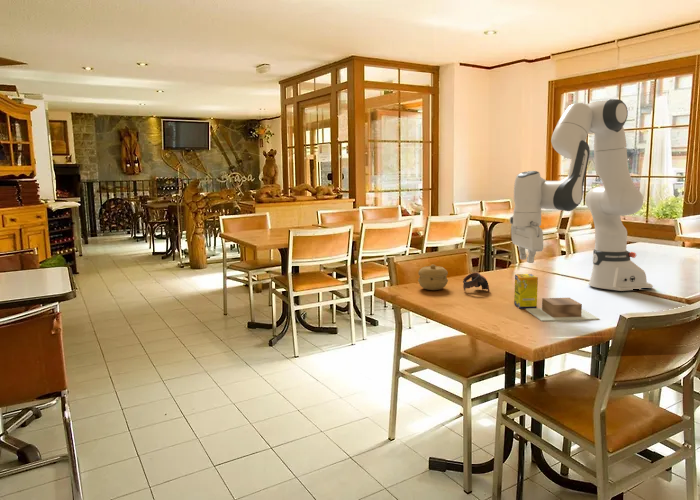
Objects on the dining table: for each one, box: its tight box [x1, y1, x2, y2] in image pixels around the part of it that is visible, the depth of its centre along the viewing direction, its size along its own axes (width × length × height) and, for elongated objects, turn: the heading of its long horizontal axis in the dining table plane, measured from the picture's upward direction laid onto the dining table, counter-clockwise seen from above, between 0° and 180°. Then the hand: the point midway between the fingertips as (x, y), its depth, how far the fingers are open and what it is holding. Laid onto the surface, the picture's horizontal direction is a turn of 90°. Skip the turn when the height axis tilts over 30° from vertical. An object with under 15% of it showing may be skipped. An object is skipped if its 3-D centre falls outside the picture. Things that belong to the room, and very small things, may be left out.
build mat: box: [525, 307, 600, 322], centre depth 169 cm, size 18×14×1 cm
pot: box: [417, 264, 449, 291], centre depth 210 cm, size 12×12×10 cm
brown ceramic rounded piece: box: [462, 271, 491, 293], centre depth 205 cm, size 12×9×8 cm
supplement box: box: [513, 273, 539, 310], centre depth 179 cm, size 6×6×11 cm
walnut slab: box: [541, 297, 583, 317], centre depth 169 cm, size 9×9×4 cm
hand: (526, 260), depth 178 cm, fingers open, 6 cm apart
